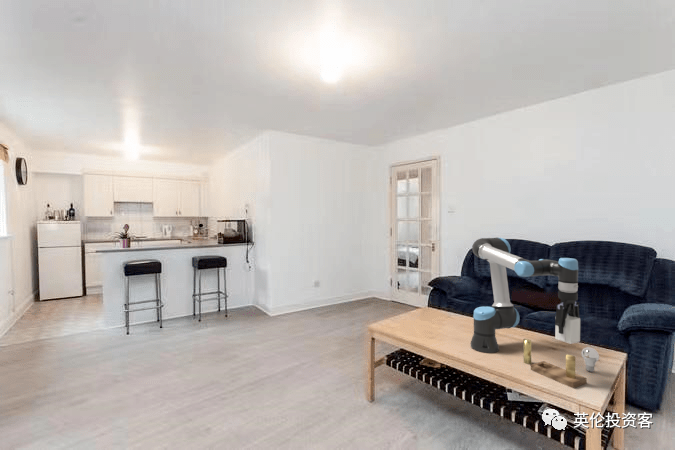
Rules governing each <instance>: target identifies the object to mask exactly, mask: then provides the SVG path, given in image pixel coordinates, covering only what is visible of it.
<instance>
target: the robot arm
mask: <svg viewBox="0 0 675 450" xmlns="http://www.w3.org/2000/svg"><path fill="white" fill-rule="evenodd" d="M471 249H472V253H473V254H474V256H476V257H477V258H479V259H482V260H486V261H487V262H488V263H489V269H490V270H489V271H490V277H491V278H490V279H491V286H492V293H493V301H494V302H493V304H492V305H491V306H479V307H476V308H475V309H474V310H473V314H472V315H473V316H472V317H473V335H472V338H471V340H470V348H471V349H472V350H474V349H475V351H477V352H479V353H487V354H488V353H489V354H494V353H497V352H499V350H500V346H499V343H498V341H497V337H496V330H503V329H511V328H515V327H517V325H518V324H519V323H520V313H519V311H518V310H517V308H515V307H514V304H513V303H512V302H511V299H510V290H509V282H508V275H507V273H508V272H507V268H508V269H510V270H513V271H514V272H515V273H516V275H517V276H519V277H523V278H530V277H538V276H539V277H540V276H552V277H558V282H557V283H558V285H557V288H558V290H557V291H558V292H557V296H558V299H559V300H560V303H559V304H557V303H556V304H555V308H556V309H555V310H556V311H555V316H556V320H554V321H555V322H554V325H557V326H559V340H558V341H561V340H562V341H561V342H564V341H566V327H564V326H565V319H566V318H567V315H569V316H572V317H577V318H580V302H578V298H579V297H578V296H579V294H578V291H579V290H578V288H579V285H578V284H579V280H578V277H579V261H578V260H577V259H576V258H570V257H560V258H559V259H558V260H552V259H549V258H540V259H538V260H528V259H526V258H523V257H520V256H518V255H515V254H512V253H511V245H510V243H509V241H508V240H507V239H505V238H504V237H487V238H486V237H483V238H482V237H481V238H478V239H476V240H475V241H474V242H473V244H472V247H471Z"/></svg>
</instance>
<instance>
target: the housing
mask: <svg viewBox="0 0 675 450" xmlns="http://www.w3.org/2000/svg"><path fill="white" fill-rule="evenodd" d="M554 318H555V320H556V315H555V317H554ZM555 320H554V321H555ZM554 325H555V324H554ZM554 327H555V330H554V331H555V332H554V333H555V337H554V338H555V340H558V341H561V342H564V343H567V344H571V345H572V344H575V343H579V342H581V317H579V318H577V317H572V316H569V314H567V318H566V319H565V326H564V327H566V341H562V340H559V326H557V325H555V326H554Z"/></svg>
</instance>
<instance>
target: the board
mask: <svg viewBox="0 0 675 450" xmlns="http://www.w3.org/2000/svg"><path fill="white" fill-rule="evenodd" d="M530 371H532V372H535V373H538V374H540V375H542V376H544V377H546V378H549V379H552V380H553V381H556V382H558V383H561V384H562V385H565V386H567V387H570V388H572V389H575V388H578V387H581V386H584V385H586V384H587V383H588V382H587V381H588V380H587V377H585V376H582V375H581V374H578V373H576V356H575V355H572V354H566V355H565V368H563V367H560V366H557V365H555V364H552V363H551V362H547V361H545V360H543V361H540V362H536V363H535V362H534V363H533V364H532V363H531V364H530Z"/></svg>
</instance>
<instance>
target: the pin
mask: <svg viewBox="0 0 675 450" xmlns="http://www.w3.org/2000/svg"><path fill="white" fill-rule="evenodd" d="M522 342H523V349H522V350H523V351H522V352H523V363H524V364H525V365H532V339H528V338H524V339H523V341H522Z"/></svg>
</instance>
